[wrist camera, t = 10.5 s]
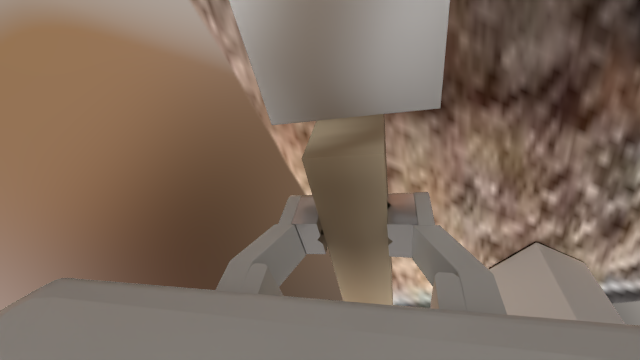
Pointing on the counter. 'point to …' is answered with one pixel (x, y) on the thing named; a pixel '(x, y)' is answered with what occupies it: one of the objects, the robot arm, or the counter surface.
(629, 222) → the counter surface
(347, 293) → the turner
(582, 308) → the milk carton
